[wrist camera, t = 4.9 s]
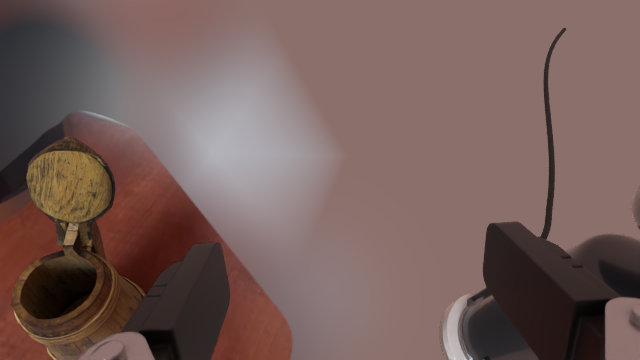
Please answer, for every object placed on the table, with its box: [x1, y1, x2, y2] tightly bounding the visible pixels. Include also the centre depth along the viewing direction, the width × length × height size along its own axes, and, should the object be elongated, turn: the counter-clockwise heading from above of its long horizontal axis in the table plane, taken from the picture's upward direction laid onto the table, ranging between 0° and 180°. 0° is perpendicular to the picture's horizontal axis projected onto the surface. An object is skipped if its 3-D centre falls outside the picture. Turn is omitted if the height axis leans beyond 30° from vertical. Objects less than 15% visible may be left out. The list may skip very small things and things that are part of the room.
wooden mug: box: [11, 136, 146, 360], centre depth 30 cm, size 9×14×18 cm, turn 3°
